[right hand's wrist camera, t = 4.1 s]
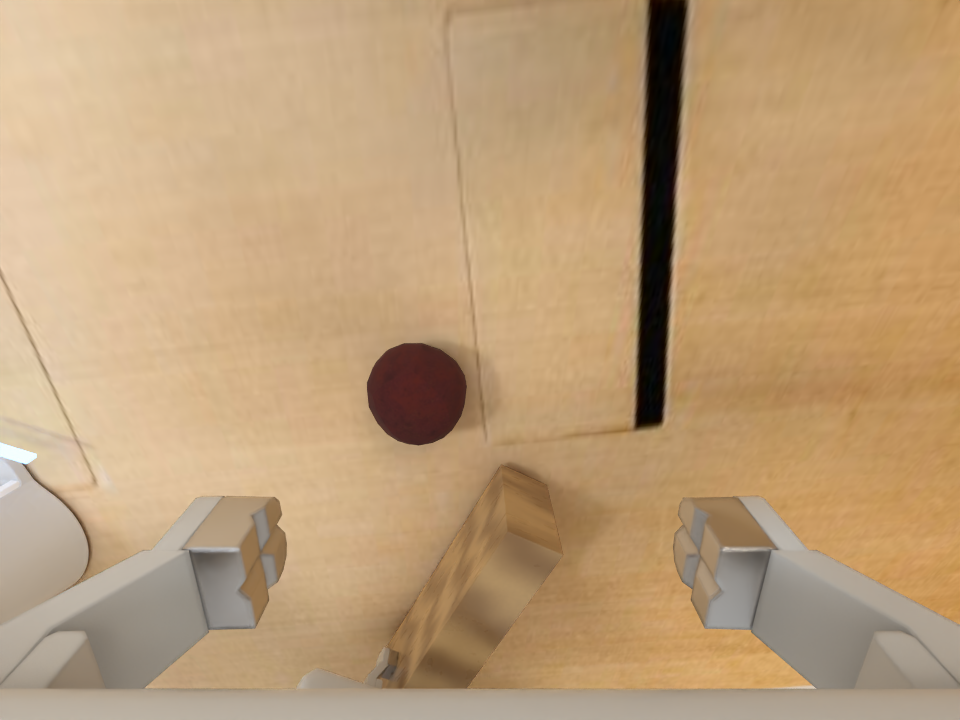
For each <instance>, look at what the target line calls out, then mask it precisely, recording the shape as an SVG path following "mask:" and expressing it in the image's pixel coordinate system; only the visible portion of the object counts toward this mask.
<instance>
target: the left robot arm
mask: <svg viewBox="0 0 960 720" xmlns="http://www.w3.org/2000/svg"><path fill="white" fill-rule="evenodd" d="M36 456H37V454H34V453H31V452H27V451H24V450H21V449H18V448H15V447H11V446H8V445H5V444H2V443H0V625H1V624H3V623H4V622H6V621H8V620H10V619H12V618H14V617H16V616H18V615H20V614H22V613H24V612H26V611H27V610H29V609H31V608H33V607H35V606H37V605H39V604H41V603H43V602H45V601H47V600H49V599H51V598H52V597H54V596H56V595H57V594H59V593H61V592H63V591H64V590H66V589H68V588H69V587H71V586H72V585H74V584H75V583H76V582H77V581H78V580H79V579H80V578H81V576H82V575H83V573H84V571H85V569H86V567H87V563H88V558H89V549H88V543H87V539H86V536H85V533H84V531H83V529H82V527H81V525H80V523H79V522H78V520H77V519H76V517H75V516H74V515H73V513H72V512H71V511H70V510H69V509H68V508H67V507H66V506H65V505H64V503H62V502H61V501H60V500H59V499H58V498H57V497H55V496H54V495H53V494H52V493H50V492H49V491H47V490H46V489H45V488H43V487H42V486H41V485H40V484H38V483H37V482H36V481H35V480H34V479H33V478H32V476H31V475H30V473H29V472H28V471H27V469H26V468H25V467H24V465H23V464H22V463H24V464H27V463H29V462H30V461H32V460H33V459H35V458H36ZM398 656H399V652H397V651H395V650H392V649H389V648H387V647H384V648H383V649H382V651H381V653H380V654H379V656H378V659H377V663H376V667H375V668H374V669H373V670H372V671H371V672H370V673H369V674H368V676H367V677H366V679H365V681H364V682H363V683H361V682H358V681H356V680H353V679H350V678H347V677H344V676H341V675H338V674H335V673H332V672H329V671H327V670H324V669H320V668H315V669H313V670H312V671H310V672H309V673H307V674H306V675H304V676H303V677H302V679H301V680H300V682H299V683H298V685H297V687H296V689H382V683H383V681H382V680H380V678H385V679H388V680H389V678H390V677H391V675H392V673H393V672H394V671H395V669H396V668H397V663H398V659H397V658H398Z"/></svg>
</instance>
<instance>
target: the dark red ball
mask: <svg viewBox="0 0 960 720" xmlns="http://www.w3.org/2000/svg"><path fill="white" fill-rule="evenodd" d="M466 388H467V386H466V381H465V375H464V374H463V372H462V370H461V369H460V367H459V365H458V364H457V362H456V361H455V360H454V359H452V358H451V357H450V356H448V355H447V354H446V353H444V352H443V351H442V350H440V349H437V348H434V347H431V346H428V345H425V344H422V343H404V344H401V345H399V346H396V347H394V348H391V349H389V350H388V351H386V352H385V353H384V354H383V355H382V356H381V358H380V359H379V360H378V361H377V362H376V363H375V365H374V367H373V369H372V372H371V374H370V377H369V379H368V382H367V392H368V402H369V408H370V410H371V412H372V414H373V416H374V417H375V419H376V421H377V423H378V424H379V425H380V426H381V428H382V429H383V430H384V431H385V432H386V433H387V434H388V435H389V436H391V437H393V438H394V439H396V440H397V441H400V442H403V443H407V444H413V445H423V444H429V443H433V442H435V441H437V440H440V439H442V438H444V437H445V436H446V435H447V434H448V433H449V432H450V431H452V429H453V428H454V426H455V425H456V423H457V421H458V420H459V418H460V417H461V414H462V411H463V408H464V404H465V396H466Z"/></svg>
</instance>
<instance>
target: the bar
mask: <svg viewBox="0 0 960 720" xmlns="http://www.w3.org/2000/svg"><path fill="white" fill-rule="evenodd" d="M562 556H563V552H562V548H561V543H560V539H559V535H558V531H557V526H556V522H555V518H554V513H553V509H552V505H551V500H550V496H549V492H548V488H547V485H546V484H544V483H541V482H539V481H537V480H535V479H532V478H530V477H528V476H526V475H524V474H521V473H519V472H517V471H515V470H513V469H510V468H508V467H506V466H504V465H501V466H500V467H499V469H498V470H497V472H496V474H495V475H494V477H493V478H492V480H491V482H490V483H489V485H488V486H487V488H486V490H485V491H484V493H483V494H482V496H481V497H480V499H479V501H478V502H477V504H476V505H475V507H474V509H473V510H472V512H471V513H470V515H469V517H468V518H467V520H466V521H465V523H464V525H463V526H462V528H461V529H460V531H459V533H458V534H457V536H456V537H455V539H454V541H453V542H452V544H451V545H450V547H449V549H448V550H447V552H446V553H445V555H444V556H443V558H442V560H441V561H440V563H439V564H438V566H437V568H436V569H435V571H434V572H433V574H432V576H431V577H430V579H429V580H428V582H427V584H426V585H425V587H424V588H423V590H422V592H421V593H420V595H419V596H418V598H417V600H416V601H415V603H414V604H413V606H412V608H411V609H410V611H409V612H408V614H407V615H406V617H405V619H404V620H403V622H402V623H401V625H400V627H399V628H398V630H397V631H396V633H395V635H394V636H393V638H392V639H391V641H390V643H389V644H388V646H387V648H389V649H392V650H395V651H397V652H399V656H398V658H397V659H398V663H397V668H396V669H395V671H394V672H393V673H392V675H391V677H390V678H389V680H388V679H385V678H380V680H382V681H383V683H382V689H466V688H467V687H468V685H469V684H470V683H471V681H472V680H473V679H474V677H475V676H476V674H477V673H478V672H479V670H480V669H481V668H482V666H483V665H484V663H485V662H486V661H487V659H488V658H489V657H490V655H491V654H492V652H493V651H494V650H495V648H496V647H497V646H498V644H499V643H500V641H501V640H502V639H503V637H504V636H505V635H506V633H507V632H508V630H509V629H510V628H511V626H512V625H513V623H514V622H515V621H516V619H517V618H518V617H519V615H520V614H521V612H522V611H523V610H524V608H525V607H526V606H527V604H528V603H529V601H530V600H531V599H532V597H533V596H534V595H535V593H536V592H537V590H538V589H539V588H540V586H541V585H542V584H543V582H544V581H545V579H546V578H547V577H548V575H549V574H550V573H551V571H552V570H553V568H554V567H555V566H556V564H557V563H558V562H559V560H560V559H561V557H562Z"/></svg>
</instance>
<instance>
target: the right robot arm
mask: <svg viewBox="0 0 960 720" xmlns="http://www.w3.org/2000/svg"><path fill="white" fill-rule="evenodd" d="M281 516H282V512H281V507H280V502H279V500H278V499H276V498H275V497H247V496H226V497H225V496H201V497H198V498H196V499H195V500H194V501H193V502H192V503H191V504H190V506H189V507H188V508H187V509H186V510H185V511H184V513H183V514H182V515H181V516H180V517H179V519H178V520H177V521H176V522H175V523H174V524H173V526H172V527H171V528H170V529H169V530H168V531H167V533H166V534H165V535H164V536H163V537H162V538H161V540H160V541H159V542H158V543H157V544H156V545H155V547H154V548H153V549H152V550H143V551H141V552H139V553H137V554H135V555H133V556H131V557H129V558H127V559H125V560H123V561H122V562H120V563H118V564H116V565H114V566H112V567H110V568H108V569H106V570H104V571H102V572H100V573H98V574H97V575H95V576H93V577H91V578H89V579H87V580H85V581H83V582H81V583H79V584H77V585H75V586H74V587H72V588H70V589H68V590H66V591H64V592H62V593H60V594H58V595H56V596H54V597H52V598H51V599H49V600H47V601H45V602H43V603H41V604H39V605H37V606H35V607H33V608H31V609H29V610H27V611H26V612H24V613H22V614H20V615H18V616H16V617H14V618H12V619H10V620H8V621H6V622H4V623H3V624H1V625H0V720H960V625H959V624H957V623H955V622H953V621H951V620H949V619H947V618H946V617H944V616H942V615H940V614H938V613H936V612H934V611H932V610H930V609H928V608H926V607H925V606H923V605H921V604H919V603H917V602H915V601H913V600H911V599H909V598H907V597H905V596H903V595H902V594H900V593H898V592H896V591H894V590H892V589H890V588H888V587H886V586H884V585H882V584H881V583H879V582H877V581H875V580H873V579H871V578H869V577H867V576H865V575H863V574H861V573H859V572H858V571H856V570H854V569H852V568H850V567H848V566H846V565H844V564H842V563H840V562H838V561H837V560H835V559H833V558H831V557H829V556H827V555H825V554H823V553H821V552H819V551H817V550H808V549H807V548H806V547H805V545H804V544H803V543H802V542H801V541H800V540H799V538H798V537H797V536H796V535H795V534H794V533H793V531H792V530H791V529H790V528H789V527H788V526H787V524H786V523H785V522H784V521H783V520H782V519H781V517H780V516H779V515H778V514H777V513H776V512H775V510H774V509H773V508H772V507H771V506H770V505H769V503H768V502H767V501H766V500H765V499H764V498H762V497H760V496H733V497H699V498H683V499H682V501H681V503H680V506H679V511H678V516H679V518H680V519H681V521H682V523H683V525H682V526H681V527H680V528H679V529H678V530H677V531H676V532H675V536H674V544H673V551H674V561H675V565H676V568H677V572H678V574H679V576H680V578H681V580H682V582H683V583H685V584H686V585H687V586H689V587H690V588H691V589H693V590H692V596H691V601H692V603H693V605H694V607H695V609H696V611H697V613H698V615H699V618H700V620H701V622H702V624H703V626H704V628H705V629H741V630H751V632H752V633H753V634H754V635H755V636H756V637H758V638H759V639H760V640H761V641H762V642H763V643H764V644H766V645H767V646H768V647H769V648H770V649H771V650H773V651H774V652H775V653H776V654H777V655H778V656H780V657H781V658H782V659H783V660H784V661H785V662H786V663H788V664H789V665H790V666H791V667H792V668H793V669H795V670H796V671H797V672H798V673H799V674H800V675H802V676H803V677H804V678H805V679H806V680H807V681H809V682H810V683H811V684H812V685H813V686H814V687H815V688H817V689H144V688H145V687H146V686H147V685H148V684H149V683H150V682H152V681H153V680H154V679H155V678H156V677H157V676H159V675H160V674H161V673H162V672H163V671H164V670H166V669H167V668H168V667H169V666H170V665H171V664H173V663H174V662H175V661H176V660H177V659H178V658H180V657H181V656H182V655H183V654H184V653H185V652H186V651H188V650H189V649H190V648H191V647H192V646H193V645H195V644H196V643H197V642H198V641H199V640H200V639H202V638H203V637H204V636H205V635H206V634H207V633H209V631H208V630H219V629H253V628H256V626H257V624H258V622H259V620H260V618H261V616H262V614H263V611H264V609H265V607H266V605H267V603H268V601H269V596H268V590H267V589H269V588H270V587H271V586H273V585H274V584H275V583H277V582H278V580H279V578H280V576H281V574H282V572H283V569H284V564H285V560H286V553H287V542H286V536H285V532H284V531H283V530H282V529H281V528H280V527H279V526H278V525H277V523H278V521H279V519H280V518H281Z"/></svg>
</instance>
